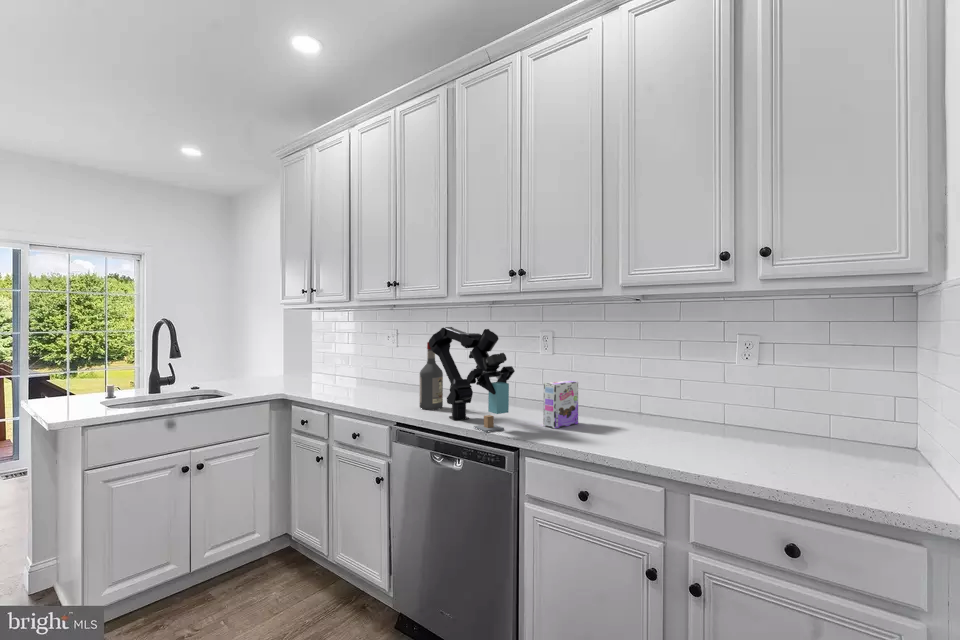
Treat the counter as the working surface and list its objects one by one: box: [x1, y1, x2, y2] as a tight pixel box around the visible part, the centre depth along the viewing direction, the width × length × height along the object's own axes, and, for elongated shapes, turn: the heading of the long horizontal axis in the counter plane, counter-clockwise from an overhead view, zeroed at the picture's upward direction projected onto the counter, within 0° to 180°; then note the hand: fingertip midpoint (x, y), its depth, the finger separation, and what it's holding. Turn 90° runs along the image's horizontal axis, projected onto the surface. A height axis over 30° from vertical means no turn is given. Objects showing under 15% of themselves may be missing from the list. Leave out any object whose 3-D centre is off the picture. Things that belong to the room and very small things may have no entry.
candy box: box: [542, 380, 579, 430], centre depth 178 cm, size 14×6×16 cm, turn 129°
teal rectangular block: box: [487, 381, 510, 415], centre depth 170 cm, size 5×5×10 cm
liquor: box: [419, 341, 444, 411], centre depth 214 cm, size 9×9×30 cm
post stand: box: [473, 414, 505, 433], centre depth 171 cm, size 8×8×5 cm
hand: (500, 393), depth 169 cm, fingers closed on teal rectangular block, 5 cm apart
